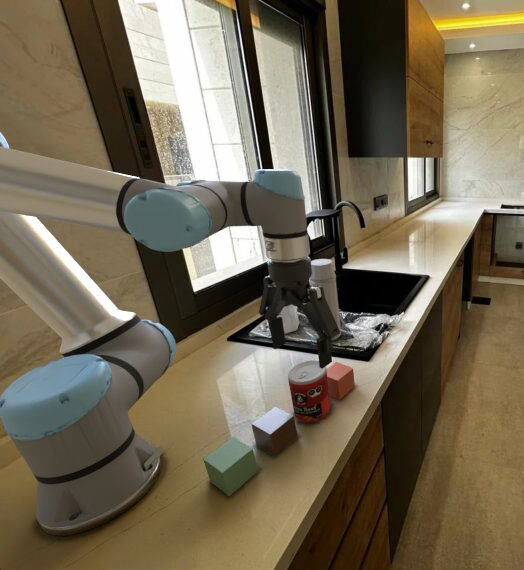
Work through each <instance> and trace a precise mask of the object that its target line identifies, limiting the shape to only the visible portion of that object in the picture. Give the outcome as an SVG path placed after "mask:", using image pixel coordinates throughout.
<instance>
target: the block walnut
mask: <svg viewBox="0 0 524 570" xmlns="http://www.w3.org/2000/svg"><path fill="white" fill-rule="evenodd" d="M250 424H251V427H252V434H253V437H254V441H255V445H256V446H257V447H258V448H259V449H262V450H264V451H265V452H266V453H268V454H270V455H271V456H273V457H276V456H277V455H278V454H280V453H281V452H282V451H283V450H284V449H285V448H286V447H288V446H289V445H290V444H291V443H292V442H293V441H295V440H296V439H297V438H298V430H297V426H296V420H295V415H294V414H291V413H290V412H287V411H285V410H283V409H281V408H279V407H277V406H276V405H275V406H273V407H272V408H271V409H270V410H268V411H267V412H266V413H264V414H263V415H262V416H260V417H259V418H258V419H256V420H254V421H253V422H252V423H250Z"/></svg>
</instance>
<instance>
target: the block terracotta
mask: <svg viewBox="0 0 524 570" xmlns="http://www.w3.org/2000/svg"><path fill="white" fill-rule="evenodd" d="M326 369H327V377H328V386H329V394H330V397H332V398H335V399H337V400H341V399H343V397H345V396H347V394H348V393H350V392H351V390H353V389H354V388H355V387H356V384H355V383H356V381H355V371H354V367H351V366H348V365H346V364H343V363H340V362H338V361H335V362H333V364H332V365H330V366H329V367H326Z"/></svg>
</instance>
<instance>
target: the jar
mask: <svg viewBox="0 0 524 570" xmlns="http://www.w3.org/2000/svg"><path fill="white" fill-rule="evenodd" d="M280 314H281V315H279V316H277V318H278V317H282V320H283V327H284V334H285V335H287V334H290V333H292V332H295V331H298V329H299V325H300V320H299V312H298V308H297V306H294V305H292V304H287V303H286V304H285V306H284V308H283V309H282V311H281V312H280Z"/></svg>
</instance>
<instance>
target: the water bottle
mask: <svg viewBox="0 0 524 570" xmlns="http://www.w3.org/2000/svg"><path fill="white" fill-rule="evenodd" d="M311 267H312V275H311V277H310V279H309V283H310V285H311V287H315V288H316V287H318V286H322V287H323V289H324V295H325V299H326V301H327V303H328V305H329V308H330V310H331V312H332V314H333V317H334V319H335V321H336V323H337V325H338V328H339V330H340V334H338V335H336V336H335V337H333V338H332V342H333V341H335V340H338V339H339V338H340V337H341V335H342V329H341V318H340V310H339V300H338V298H339V297H338V289H337V288H338V287H337V279H336V278H337V275H336V273H335V269H334V263H333V260H332V259H329V258H319V259H313V260H311ZM323 332H324V330H323ZM317 338H319V336H318V335H317Z"/></svg>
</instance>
